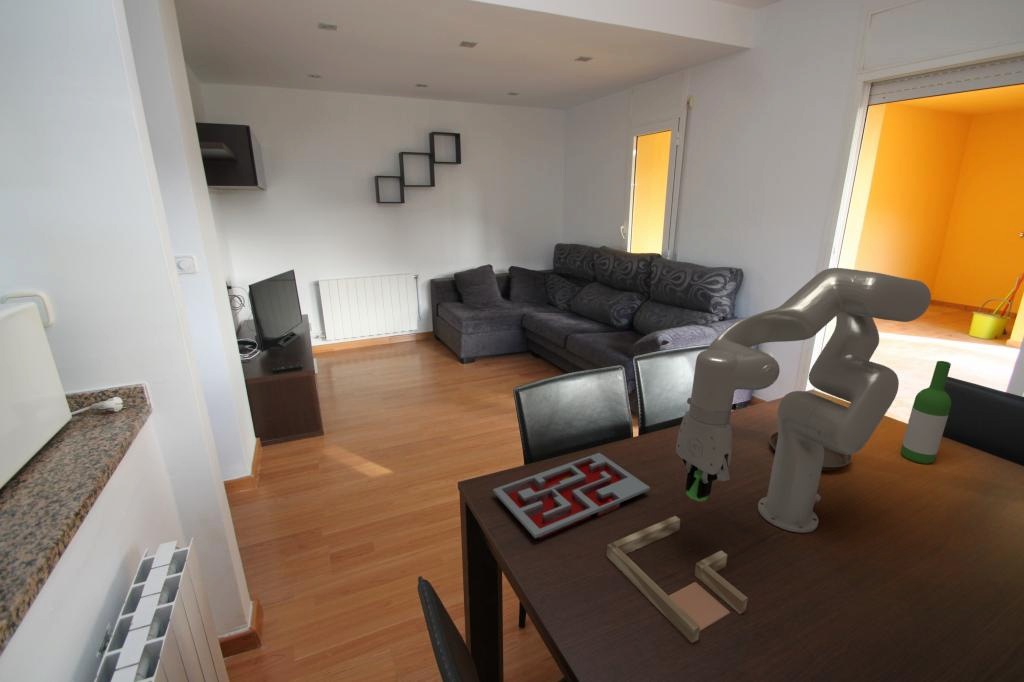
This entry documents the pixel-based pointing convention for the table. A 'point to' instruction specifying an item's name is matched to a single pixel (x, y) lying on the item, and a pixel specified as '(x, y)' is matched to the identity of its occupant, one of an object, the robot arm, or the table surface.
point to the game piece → (696, 487)
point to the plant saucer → (830, 457)
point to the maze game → (569, 494)
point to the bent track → (690, 603)
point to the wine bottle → (928, 418)
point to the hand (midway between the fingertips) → (697, 492)
